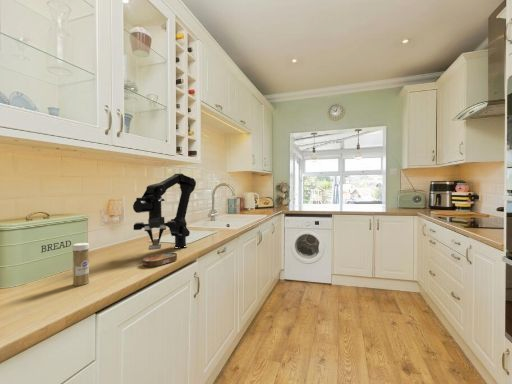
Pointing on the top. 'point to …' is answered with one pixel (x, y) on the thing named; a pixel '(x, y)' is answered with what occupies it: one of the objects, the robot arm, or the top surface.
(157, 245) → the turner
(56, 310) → the top surface
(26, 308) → the top surface
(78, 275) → the sprinkles bottle
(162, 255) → the tin
